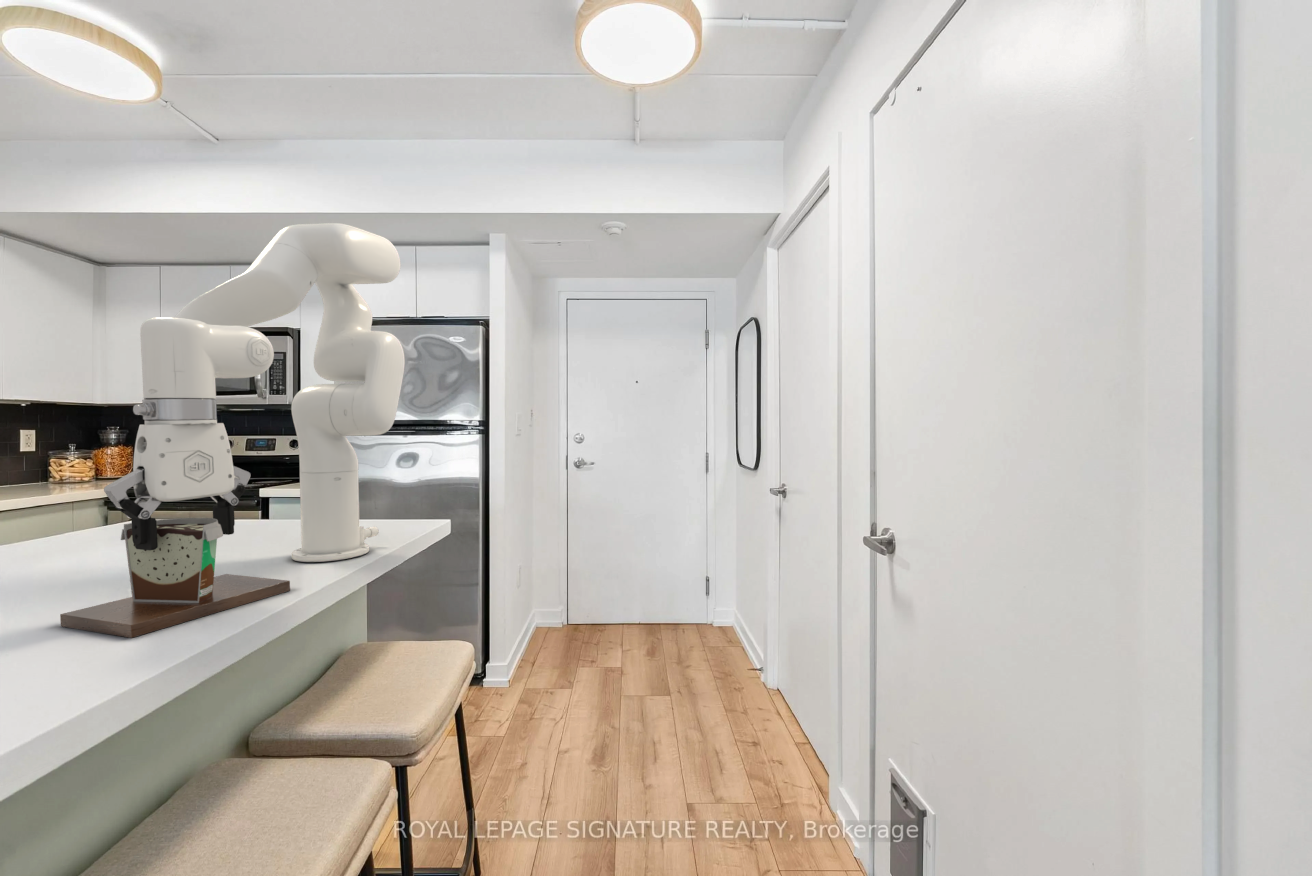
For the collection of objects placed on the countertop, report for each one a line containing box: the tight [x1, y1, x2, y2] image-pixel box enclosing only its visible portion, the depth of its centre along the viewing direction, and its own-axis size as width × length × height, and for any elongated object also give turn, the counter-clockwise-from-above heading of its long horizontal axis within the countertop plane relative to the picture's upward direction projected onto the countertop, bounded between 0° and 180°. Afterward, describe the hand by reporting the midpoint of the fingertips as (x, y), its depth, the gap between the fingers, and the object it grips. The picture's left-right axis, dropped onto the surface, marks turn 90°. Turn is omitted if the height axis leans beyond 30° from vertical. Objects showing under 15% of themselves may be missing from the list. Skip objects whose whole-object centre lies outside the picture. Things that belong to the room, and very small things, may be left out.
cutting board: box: [59, 573, 291, 638], centre depth 79 cm, size 20×13×2 cm, turn 161°
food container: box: [120, 517, 224, 603], centre depth 79 cm, size 12×6×10 cm, turn 84°
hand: (187, 541), depth 79 cm, fingers open, 9 cm apart
